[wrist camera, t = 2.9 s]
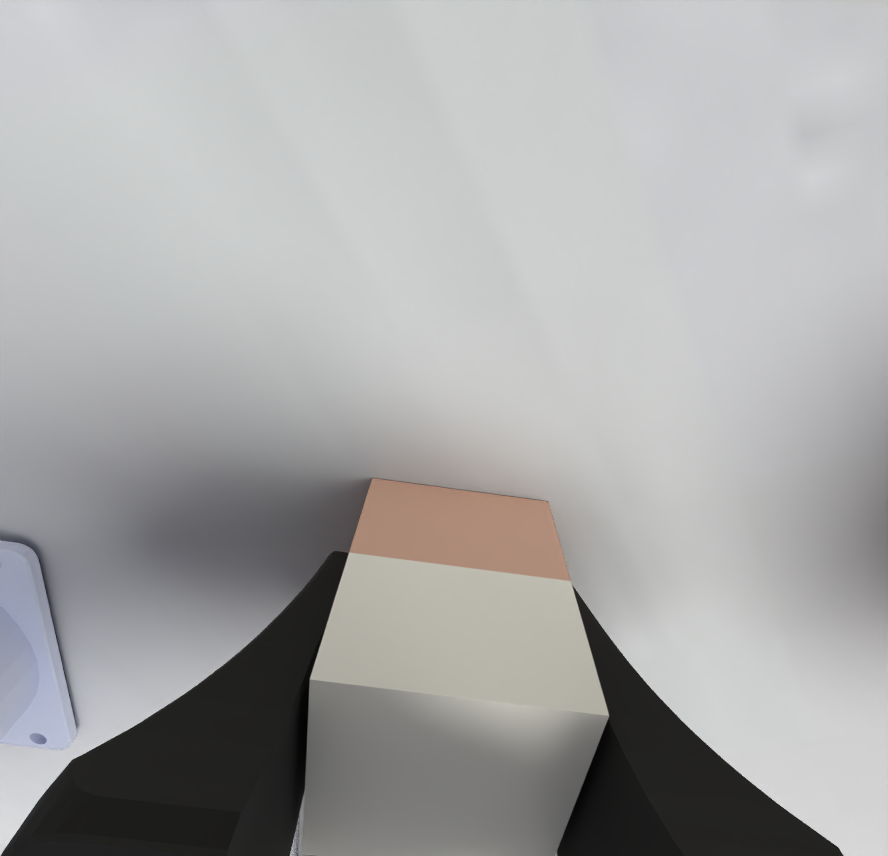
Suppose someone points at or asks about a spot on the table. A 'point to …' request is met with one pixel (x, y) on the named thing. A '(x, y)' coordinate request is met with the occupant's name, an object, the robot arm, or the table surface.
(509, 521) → the brick stack
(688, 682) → the table surface
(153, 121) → the table surface
